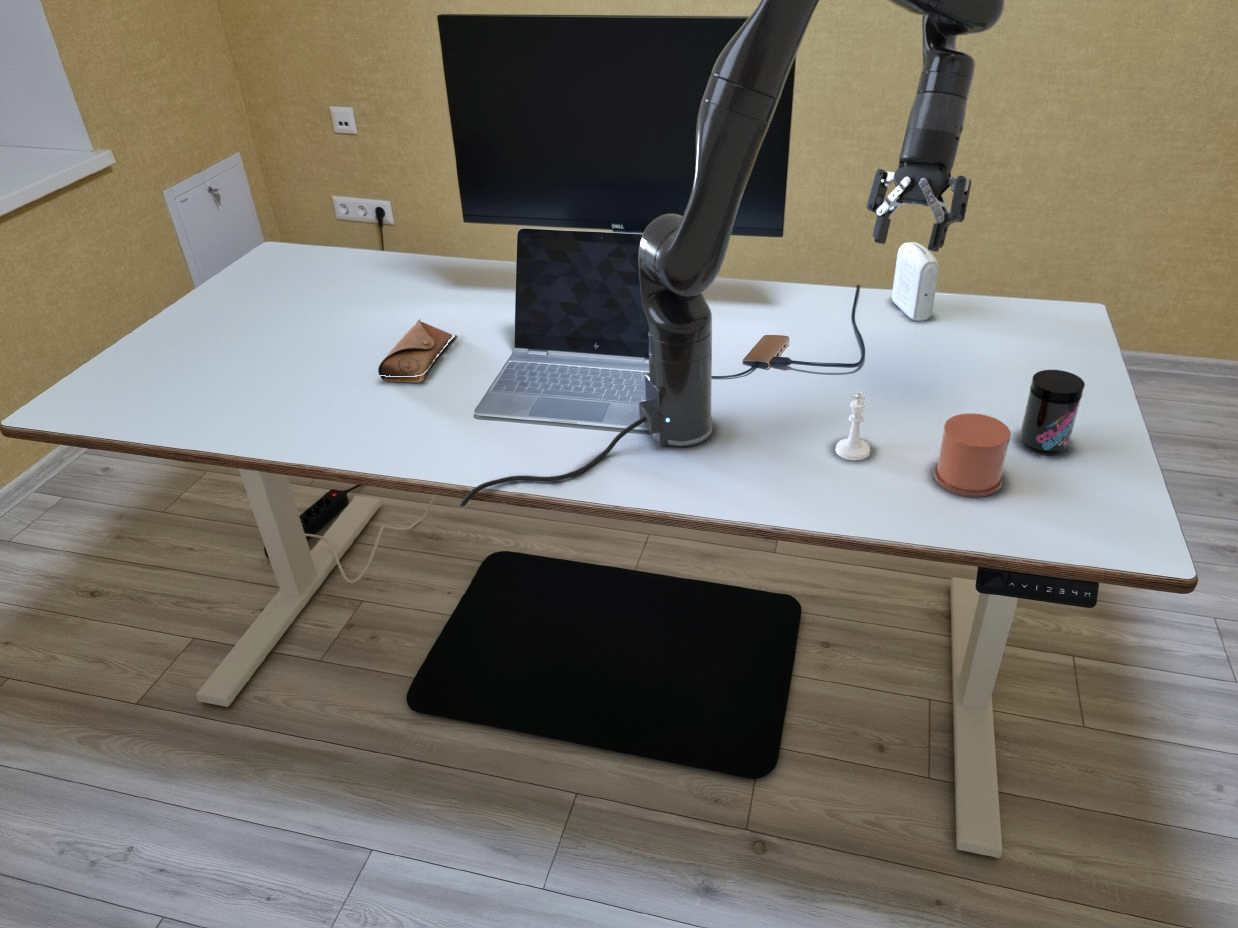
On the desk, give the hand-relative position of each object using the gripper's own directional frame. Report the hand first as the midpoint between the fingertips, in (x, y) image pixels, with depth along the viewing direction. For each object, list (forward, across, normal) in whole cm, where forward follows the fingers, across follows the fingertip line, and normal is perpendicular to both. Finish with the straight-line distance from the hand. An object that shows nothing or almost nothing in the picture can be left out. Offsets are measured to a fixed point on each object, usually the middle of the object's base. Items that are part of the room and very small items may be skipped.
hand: (905, 247), depth 135 cm
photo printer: (+9, -15, +36) cm, 40 cm away
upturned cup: (+30, +18, -2) cm, 35 cm away
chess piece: (+30, +2, -6) cm, 31 cm away
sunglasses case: (+33, -72, -30) cm, 85 cm away
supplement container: (+24, +22, +12) cm, 35 cm away
